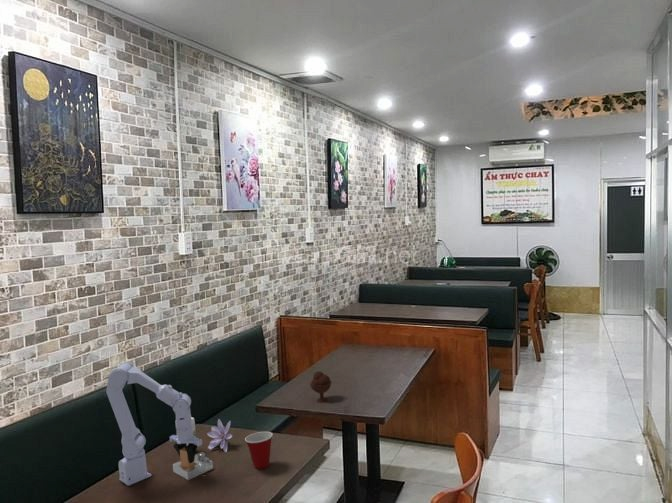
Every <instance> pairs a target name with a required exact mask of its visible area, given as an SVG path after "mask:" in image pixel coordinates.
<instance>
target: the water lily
mask: <svg viewBox="0 0 672 503" xmlns="http://www.w3.org/2000/svg"><path fill="white" fill-rule="evenodd" d="M230 427H231V420H229V421H228V422H227V424H226V425H225V426H224V425H223V423H222V421H221V419H220V418H218V420H217V426H211V431H209V432H207V436H208V437H209V438H213V439H211V441H209V445H208V446H207V449H209V450H212V449H214V448H215V447H217V446H218V445H219V444H220V445H219V447H220V449H221V450H222V449H223V451H224V453H227V452H228V444H230V439H231V438H233V434H231V433H228V431H229V430H230Z"/></svg>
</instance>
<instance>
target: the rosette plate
mask: <svg viewBox="0 0 672 503" xmlns="http://www.w3.org/2000/svg"><path fill="white" fill-rule="evenodd" d="M213 463H214V462H213V461H212V460H211V459H210V458H209V457H206V453H205V452H202V451H201V452H198V453H195V458H194V466H192V467H189V468H187V469H185V468H183V467H181V460H179V461H177V462H174V463H172V472H173V473H175V474H176V475H178V476H180V477H182V478H184V479H186V480H187V481H189V480H192V479H193V478H196V477H198V476H200V475H202V474H205V473H207V472H209V471H212V470H213V469H214V465H213Z"/></svg>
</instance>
